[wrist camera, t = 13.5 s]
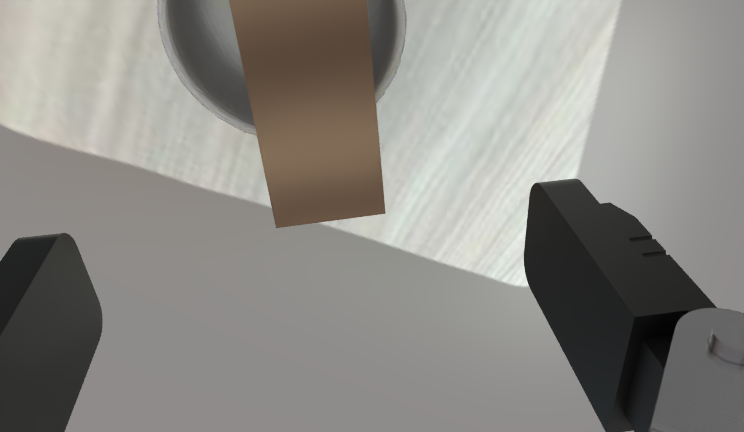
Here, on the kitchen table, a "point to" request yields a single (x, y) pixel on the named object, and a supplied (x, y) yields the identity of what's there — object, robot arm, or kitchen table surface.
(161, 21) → the teacup
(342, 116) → the walnut beam
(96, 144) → the kitchen table surface
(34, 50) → the kitchen table surface
